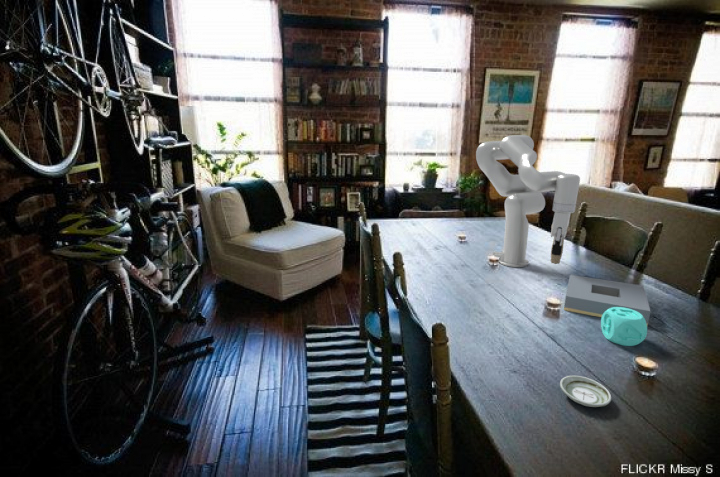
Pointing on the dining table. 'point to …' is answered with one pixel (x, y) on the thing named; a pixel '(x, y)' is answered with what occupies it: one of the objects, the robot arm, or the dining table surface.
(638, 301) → the socket block
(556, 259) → the handle
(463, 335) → the dining table surface
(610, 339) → the decorative dice
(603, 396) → the saucer
